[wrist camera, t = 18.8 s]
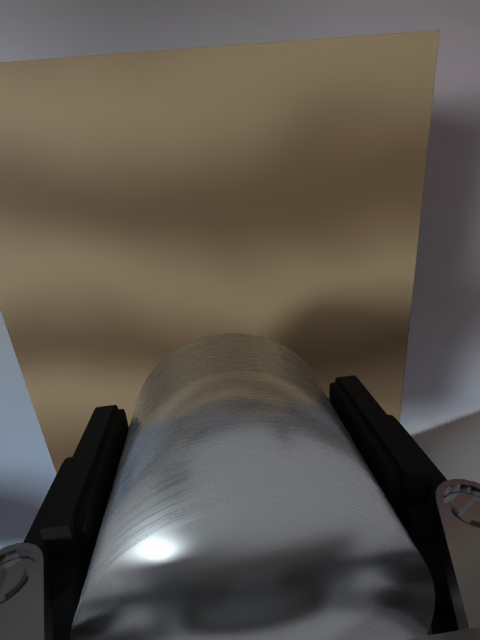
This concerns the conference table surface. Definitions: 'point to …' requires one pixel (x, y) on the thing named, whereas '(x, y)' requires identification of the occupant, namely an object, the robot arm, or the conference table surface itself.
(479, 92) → the conference table surface
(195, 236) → the lid
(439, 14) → the conference table surface
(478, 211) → the conference table surface
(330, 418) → the steel weight
